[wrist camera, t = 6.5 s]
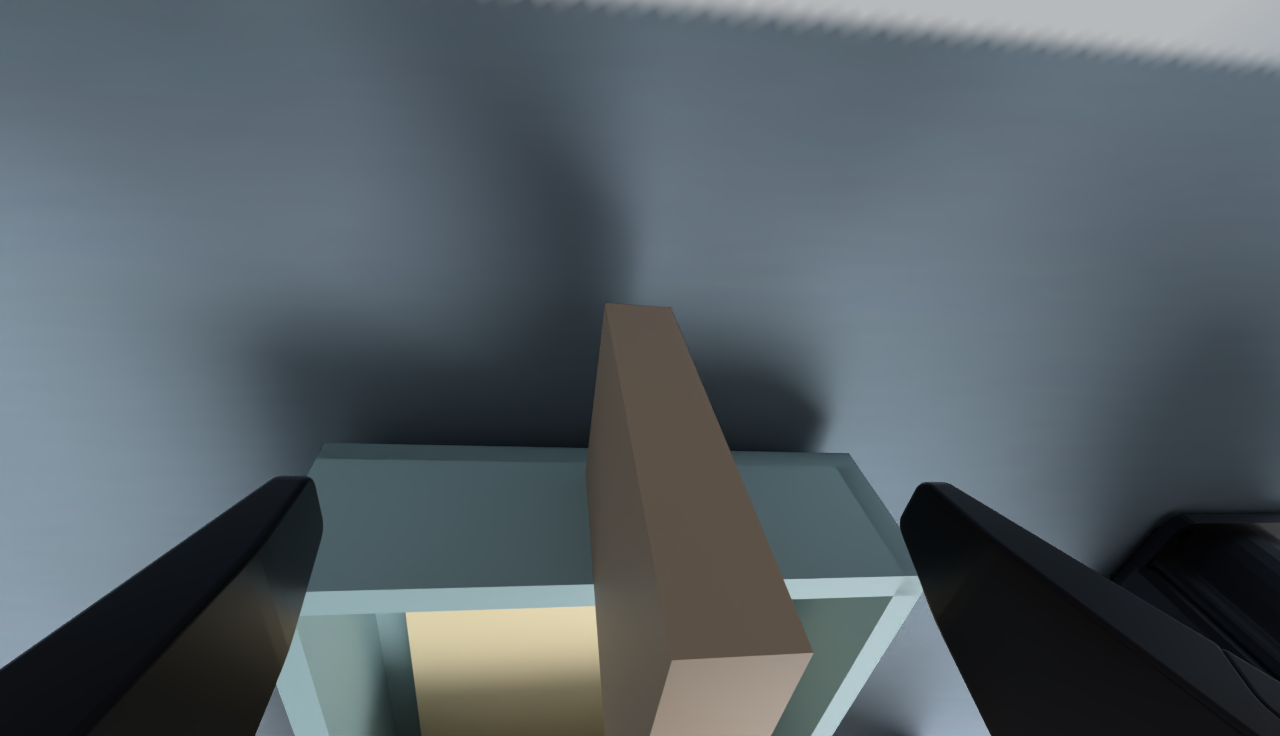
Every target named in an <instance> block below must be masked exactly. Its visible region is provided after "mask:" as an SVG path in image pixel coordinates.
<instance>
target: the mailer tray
mask: <svg viewBox="0 0 1280 736" xmlns="http://www.w3.org/2000/svg"><path fill="white" fill-rule="evenodd" d="M307 476H308V477H310V478H312V479H313V481H314V483H315V486H316V490H317V495H318V499H319V504H320V508H321V513H322V517H323V534H322V539H321V542H320V546H319V549H318V553H317V556H316V560H315V563H314V567H313V570H312V574H311V577H310V581H309V584H308V588H307V591H306V595H305V598H304V602H303V605H302V609H301V612H300V616H299V619H298V623H297V626H296V630H295V633H294V637H293V640H292V643H291V646H290V649H289V652H288V655H287V657H286V660H285V663H284V665H283V668H282V671H281V673H280V675H279V678H278V680H277V683H276V685H277V688H278V691H279V694H280V696H281V699H282V702H283V705H284V707H285V710H286V713H287V716H288V718H289V721H290V724H291V726H292V729H293V732H294V735H295V736H832V735H833V733H834V732H835V730H836V729H837V727H838V725H839V724H840V722H841V721H842V719H843V718H844V716H845V714H846V713H847V711H848V710H849V708H850V706H851V705H852V703H853V702H854V700H855V698H856V697H857V695H858V694H859V692H860V690H861V689H862V687H863V686H864V684H865V682H866V681H867V679H868V678H869V676H870V674H871V673H872V671H873V670H874V668H875V667H876V665H877V663H878V662H879V660H880V659H881V657H882V655H883V654H884V652H885V651H886V649H887V647H888V646H889V644H890V643H891V641H892V639H893V638H894V636H895V635H896V633H897V631H898V630H899V628H900V627H901V625H902V624H903V622H904V620H905V619H906V617H907V616H908V614H909V612H910V611H911V609H912V608H913V606H914V604H915V603H916V601H917V600H918V598H919V596H920V595H921V593H922V592H923V589H922V586H921V583H920V581H919V578H918V576H917V573H916V570H915V568H914V565H913V563H912V560H911V557H910V555H909V552H908V549H907V547H906V544H905V542H904V539H903V536H902V534H901V530H900V527H899V526H898V524H897V523H896V521H895V520H894V518H893V517H892V516H891V514H890V513H889V511H888V510H887V508H886V507H885V505H884V504H883V502H882V501H881V500H880V498H879V497H878V495H877V494H876V492H875V491H874V489H873V488H872V486H871V485H870V483H869V482H868V481H867V479H866V478H865V476H864V475H863V473H862V472H861V470H860V469H859V467H858V466H857V465H856V463H855V462H854V460H853V459H852V457H851V456H850V454H849V453H807V452H757V451H730V449H729V447H728V444H727V442H726V440H725V437H724V435H723V432H722V430H721V427H720V425H719V423H718V420H717V418H716V415H715V413H714V411H713V408H712V406H711V403H710V401H709V398H708V396H707V394H706V391H705V389H704V386H703V384H702V382H701V379H700V377H699V374H698V372H697V369H696V367H695V365H694V362H693V360H692V357H691V355H690V353H689V350H688V348H687V345H686V343H685V340H684V338H683V336H682V333H681V331H680V328H679V326H678V324H677V321H676V319H675V316H674V314H673V312H672V309H671V307H656V306H642V305H628V304H613V303H605V308H604V317H603V325H602V334H601V343H600V351H599V360H598V369H597V377H596V386H595V395H594V403H593V412H592V420H591V429H590V438H589V446H588V448H557V447H507V446H457V445H407V444H357V443H324V445H323V447H322V449H321V450H320V452H319V454H318V456H317V458H316V460H315V461H314V463H313V465H312V467H311V469H310V471H309V473H308V474H307Z"/></svg>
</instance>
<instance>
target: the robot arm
mask: <svg viewBox="0 0 1280 736" xmlns="http://www.w3.org/2000/svg"><path fill="white" fill-rule="evenodd" d="M900 530H901V534H902V536H903V539H904V542H905V544H906V547H907V549H908V552H909V555H910V557H911V560H912V563H913V565H914V568H915V570H916V573H917V576H918V578H919V581H920V583H921V586H922V589H923V591H924V594H925V596H926V599H927V602H928V604H929V607H930V609H931V612H932V614H933V617H934V619H935V622H936V624H937V626H938V628H939V630H940V632H941V635H942V637H943V639H944V641H945V643H946V645H947V647H948V649H949V651H950V653H951V655H952V657H953V659H954V661H955V663H956V665H957V667H958V669H959V671H960V673H961V675H962V677H963V680H964V682H965V684H966V686H967V688H968V690H969V692H970V694H971V696H972V698H973V700H974V702H975V704H976V706H977V708H978V710H979V712H980V714H981V716H982V718H983V720H984V722H985V724H986V726H987V728H988V730H989V732H990V734H991V736H1280V514H1181V515H1177V516H1174V517H1172V518H1170V519H1169V520H1167V521H1166V522H1165V523H1163V524H1162V525H1161V526H1160V528H1159V529H1158V530H1157V531H1156V532H1155V533H1154V534H1153V535H1152V537H1151V538H1150V539H1149V540H1148V541H1147V542H1146V543H1145V544H1144V546H1143V547H1142V548H1141V549H1140V550H1139V551H1138V552H1137V553H1136V555H1135V556H1134V557H1133V558H1132V559H1131V560H1130V561H1129V562H1128V564H1127V565H1126V566H1125V567H1124V568H1123V569H1122V570H1121V571H1120V573H1119V574H1118V575H1117V576H1116V577H1115V578H1114V579H1113V580H1112V581H1110V580H1109V579H1107V578H1105V577H1104V576H1102V575H1100V574H1099V573H1097V572H1096V571H1094V570H1092V569H1091V568H1089V567H1087V566H1086V565H1084V564H1082V563H1081V562H1079V561H1077V560H1076V559H1074V558H1072V557H1071V556H1069V555H1067V554H1066V553H1064V552H1062V551H1061V550H1059V549H1057V548H1056V547H1054V546H1052V545H1051V544H1049V543H1047V542H1046V541H1044V540H1042V539H1041V538H1039V537H1037V536H1036V535H1034V534H1032V533H1031V532H1029V531H1027V530H1026V529H1024V528H1022V527H1021V526H1019V525H1017V524H1016V523H1014V522H1012V521H1011V520H1009V519H1007V518H1006V517H1004V516H1002V515H1001V514H999V513H998V512H996V511H994V510H993V509H991V508H989V507H988V506H986V505H984V504H983V503H981V502H979V501H978V500H976V499H974V498H973V497H971V496H969V495H968V494H966V493H964V492H963V491H961V490H959V489H958V488H956V487H954V486H953V485H951V484H949V483H945V482H924V483H921V484H920V485H919V486H918V487H917V488H916V490H915V492H914V493H913V495H912V497H911V499H910V501H909V503H908V505H907V506H906V508H905V510H904V512H903V514H902V516H901V519H900ZM322 534H323V517H322V513H321V508H320V504H319V499H318V495H317V490H316V486H315V483H314V481H313V479H312V478H310V477H308V476H278V477H275V478H273V479H271V480H269V481H268V482H267V483H265V484H264V485H262V486H261V487H259V488H258V489H257V490H255V491H254V492H252V493H251V494H249V495H248V496H247V497H245V498H244V499H242V500H241V501H239V502H238V503H237V504H235V505H234V506H232V507H231V508H229V509H228V510H227V511H225V512H224V513H222V514H221V515H219V516H218V517H217V518H215V519H214V520H212V521H211V522H209V523H208V524H207V525H205V526H204V527H202V528H201V529H199V530H198V531H197V532H195V533H194V534H192V535H191V536H189V537H188V538H187V539H185V540H184V541H182V542H181V543H179V544H178V545H177V546H175V547H174V548H172V549H171V550H169V551H168V552H167V553H165V554H164V555H162V556H161V557H159V558H158V559H157V560H155V561H154V562H152V563H151V564H150V565H148V566H147V567H145V568H144V569H142V570H141V571H140V572H138V573H137V574H135V575H134V576H132V577H131V578H130V579H128V580H127V581H125V582H124V583H122V584H121V585H120V586H118V587H117V588H115V589H114V590H112V591H111V592H110V593H108V594H107V595H105V596H104V597H102V598H101V599H100V600H98V601H97V602H95V603H94V604H92V605H91V606H90V607H88V608H87V609H85V610H84V611H82V612H81V613H80V614H78V615H77V616H75V617H74V618H72V619H71V620H70V621H68V622H67V623H65V624H64V625H62V626H61V627H60V628H58V629H57V630H55V631H54V632H52V633H51V634H50V635H48V636H47V637H45V638H44V639H42V640H41V641H40V642H38V643H37V644H35V645H34V646H32V647H31V648H30V649H28V650H27V651H25V652H24V653H22V654H21V655H20V656H18V657H17V658H15V659H14V660H12V661H11V662H10V663H8V664H7V665H5V666H4V667H2V668H1V669H0V736H255V734H256V732H257V729H258V727H259V724H260V722H261V719H262V717H263V715H264V712H265V710H266V707H267V705H268V702H269V700H270V697H271V695H272V693H273V690H274V688H275V685H276V683H277V680H278V678H279V675H280V673H281V671H282V668H283V665H284V663H285V660H286V657H287V655H288V652H289V649H290V646H291V643H292V640H293V637H294V633H295V630H296V626H297V623H298V619H299V616H300V612H301V609H302V605H303V602H304V598H305V595H306V591H307V588H308V584H309V581H310V577H311V574H312V570H313V567H314V563H315V560H316V556H317V553H318V549H319V546H320V542H321V539H322Z"/></svg>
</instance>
